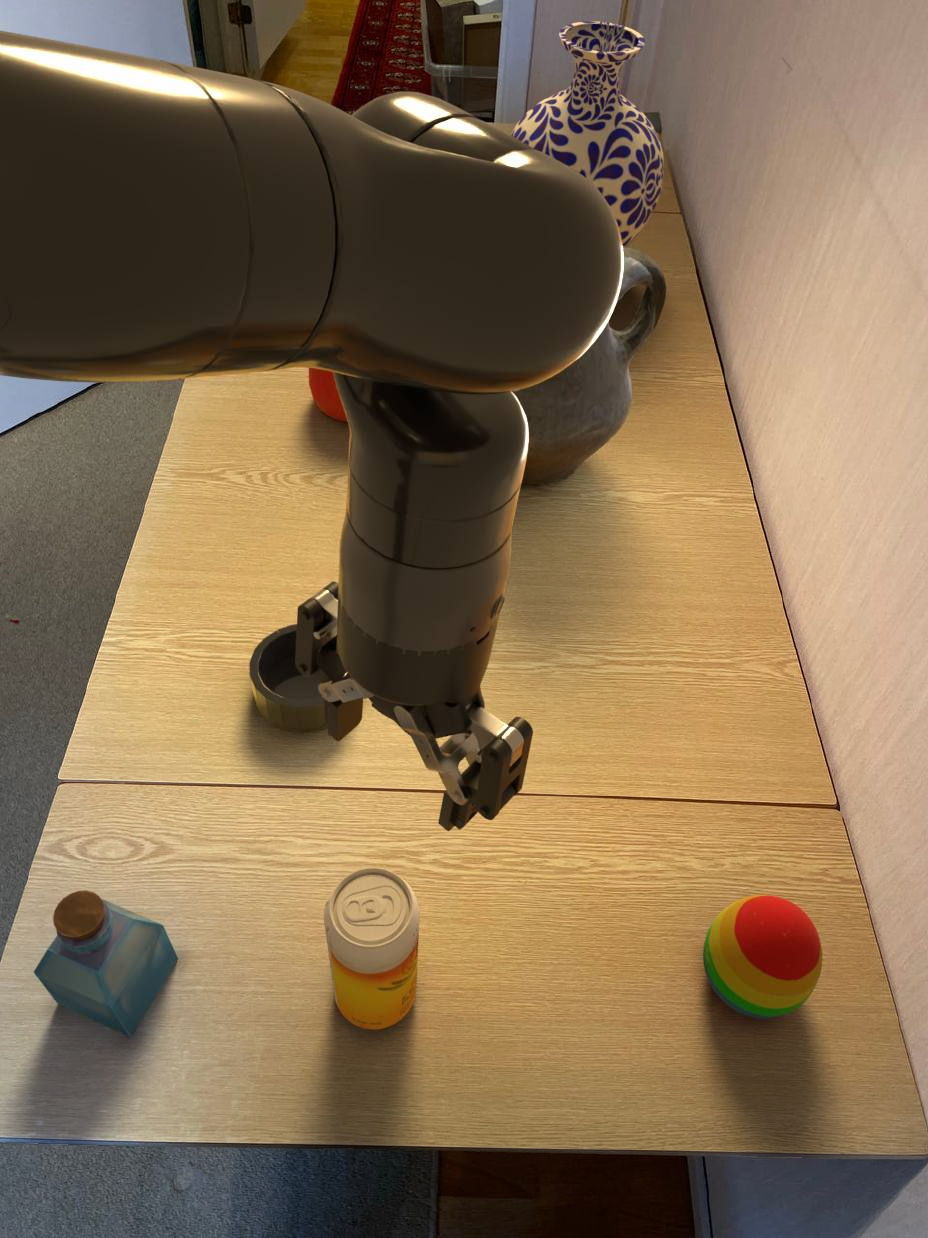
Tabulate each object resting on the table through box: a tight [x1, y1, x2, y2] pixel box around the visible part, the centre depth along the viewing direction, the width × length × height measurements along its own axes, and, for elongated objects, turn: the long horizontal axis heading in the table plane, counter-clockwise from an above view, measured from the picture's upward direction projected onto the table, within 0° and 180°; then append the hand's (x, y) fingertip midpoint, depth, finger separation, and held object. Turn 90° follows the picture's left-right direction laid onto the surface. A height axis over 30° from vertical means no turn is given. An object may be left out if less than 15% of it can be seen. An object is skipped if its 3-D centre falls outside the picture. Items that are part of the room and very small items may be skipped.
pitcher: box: [512, 246, 667, 485], centre depth 104 cm, size 21×22×25 cm
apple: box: [308, 368, 348, 423], centre depth 114 cm, size 11×11×11 cm
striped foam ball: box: [702, 894, 823, 1019], centre depth 71 cm, size 8×8×10 cm
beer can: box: [323, 866, 421, 1030], centre depth 67 cm, size 6×6×15 cm
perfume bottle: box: [33, 889, 179, 1038], centre depth 68 cm, size 6×6×12 cm
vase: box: [510, 20, 665, 247], centre depth 130 cm, size 22×22×30 cm
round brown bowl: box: [248, 623, 339, 734], centre depth 89 cm, size 9×9×4 cm
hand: (398, 772), depth 57 cm, fingers open, 8 cm apart
